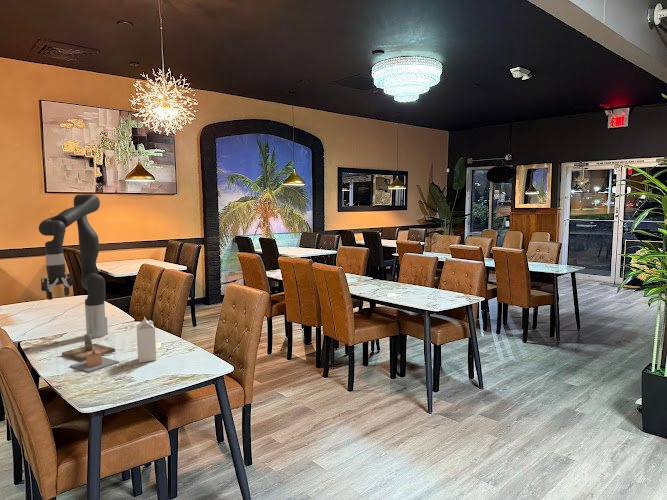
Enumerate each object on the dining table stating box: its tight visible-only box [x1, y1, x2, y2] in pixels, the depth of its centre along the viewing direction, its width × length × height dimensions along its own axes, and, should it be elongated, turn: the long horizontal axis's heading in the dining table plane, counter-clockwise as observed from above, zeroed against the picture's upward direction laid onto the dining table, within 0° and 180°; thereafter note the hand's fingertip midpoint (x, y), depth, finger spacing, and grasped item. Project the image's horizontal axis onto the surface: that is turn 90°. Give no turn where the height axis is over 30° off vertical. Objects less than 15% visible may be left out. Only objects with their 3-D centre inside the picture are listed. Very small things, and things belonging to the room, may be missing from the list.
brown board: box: [61, 333, 116, 362], centre depth 216 cm, size 16×16×9 cm
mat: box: [69, 356, 120, 373], centre depth 201 cm, size 14×14×1 cm
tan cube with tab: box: [86, 350, 103, 367], centre depth 201 cm, size 6×6×6 cm
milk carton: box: [136, 316, 157, 363], centre depth 207 cm, size 7×7×19 cm
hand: (58, 297), depth 214 cm, fingers open, 8 cm apart
